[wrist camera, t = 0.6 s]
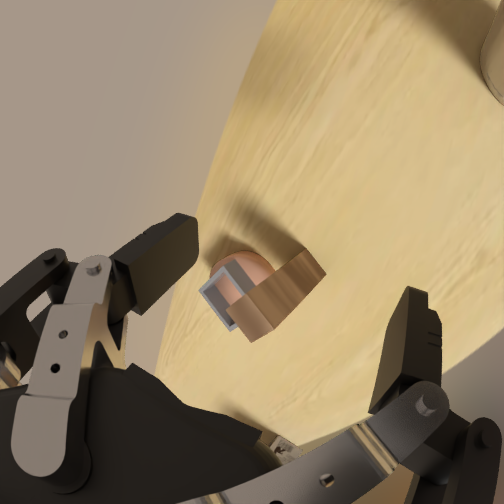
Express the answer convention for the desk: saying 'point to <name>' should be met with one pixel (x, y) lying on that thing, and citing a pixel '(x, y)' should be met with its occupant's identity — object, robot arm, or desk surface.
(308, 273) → the brown wooden block
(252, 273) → the dish
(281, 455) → the coffee box
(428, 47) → the desk surface
